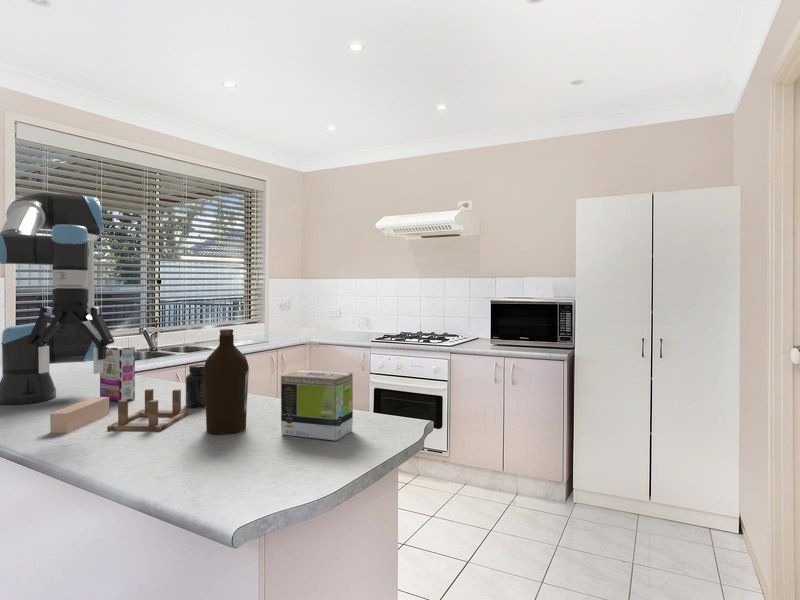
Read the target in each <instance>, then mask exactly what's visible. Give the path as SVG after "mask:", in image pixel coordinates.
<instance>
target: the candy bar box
mask: <svg viewBox="0 0 800 600" xmlns="http://www.w3.org/2000/svg"><path fill="white" fill-rule="evenodd" d="M135 350H136V347H134V346H133V347H132V346H122V345H107V346H106V359H103V372H101V373H99V397H109V401H113V402H118V401H120V400H128V402H130V401H133V400H134V401H135V399H136V397H135V395H136V391H135V390H136V389H135V388H136V387H135V386H136V385H135V384H136V383H135V379H136V375H135V374H136V366H135V365H136V364H135V363H136V362H135V359H136V351H135Z"/></svg>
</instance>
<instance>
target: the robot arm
mask: <svg viewBox="0 0 800 600" xmlns="http://www.w3.org/2000/svg"><path fill="white" fill-rule="evenodd" d="M101 207H102V206H101V202H100V200H99V199H98V198H97V197H95V196H87V195H84V194H82V195H80V194H66V193H65V194H64V193H53V192H34V193H30V194H27V195H26V194H25V195H23V196H21V197H19V198H17V199H15V200H14V201H12V202H11V203H10V204H9V205H8V208H7V209H6V213H5V214H6V215H5V216H6V217H5V218H6V221H5V223H4V224H3V226H2V229H1V230H0V265H15V264H16V265H46V266H47V265H48V266H50V265H51V266H52V268H51V271H52V272H51V273H52V274H51V275H52V278H51V279H52V281H51V282H52V283H51V284H52V286H54V287H55V288H53V289H52V296H51V297H52V303H53V307H51V306H41V307H40V308H39V314H38V315H39V316H38V318H37V320H36V321H35V322H34V323H33V322H31V323H25V324H19V325H13V326H9V327H6V328H4V330H2V336H1V337H2V338H1V343H0V344H1V353H2V354H1V355H2V357H1V358H2V359H1V360H2V371H1V372H2V376H1V379H0V405H22V404H31V403H33V404H34V403H39V402H44V401H48V400H51V399H54V398H56V397H57V388H56V387H55V386H56V385H55V383H54V381H53V378H52V375H51V373H50V364H51V365H52V364H53V365H54V364H68V363H69V364H70V363H85V362H86V363H87V362H93V375H97V374H100V373H101V372H103V359H106V346H110V345H111V344H114V343H115V339H114V337H113V335H112V333H111V331H110V329H109V327H108V325H107V323H106V322H105V319H104V317H103V315H102V314H103V313H102V308H101V307H100V306H95V242H96V241H97V240H99V239H100V234H102V233H104V232H105V227H104V219H103V213H102V208H101ZM38 230H50V231H51V235H40V234H39V235H38ZM52 315H53V316H54V318H53V319H52V320H51V321H50V319H51V317H52ZM49 321H50V323H49Z"/></svg>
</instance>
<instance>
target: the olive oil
mask: <svg viewBox="0 0 800 600" xmlns="http://www.w3.org/2000/svg"><path fill="white" fill-rule="evenodd" d="M234 336H235V335H234V329H231V328H225V329H219V338H218V339H219V344H218V346H217V347H216V348H215V349H214V350H213V351H212V352H211V354H209V355H208V357H206V360H205V362H204V384H205V403H206V407H205V421H206V423H205V424H206V425H205V427H206V432H208V433H209V434H212V435H230V434H236V433H240V432H243V431H244V430H246V428H247V411H248V410H247V407H248V389H249V387H248V386H249V375H250V373H249V371H250V370H249V369H250V367H249V363H248V359H247V357H246V356H245V355H244V354H243V352H241V351H240V350H239V349H238V347H236V346H235V344H234V341H235V340H234V339H235V338H234Z"/></svg>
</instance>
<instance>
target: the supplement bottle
mask: <svg viewBox="0 0 800 600" xmlns="http://www.w3.org/2000/svg"><path fill="white" fill-rule="evenodd" d="M204 365H205V363H204V364H203V363H198V364H190V365H189V366H188V367H189V368H188V369H189V370H188V372H189V374H188V375H186V377H185V406H186V407H187V408H190V407H191V409H197V407H201V408H205V407H204V406H206V403H205V384H204Z"/></svg>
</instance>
